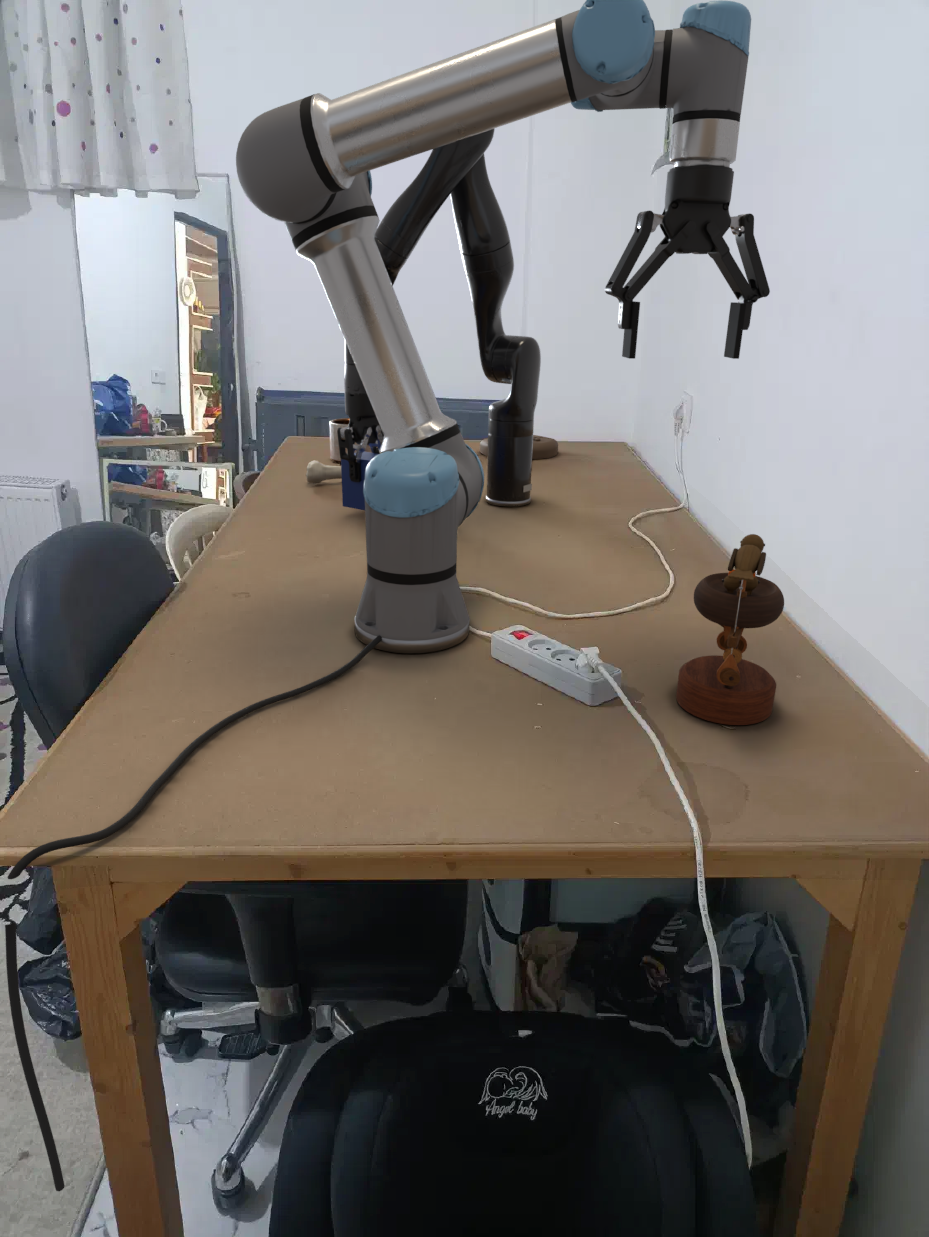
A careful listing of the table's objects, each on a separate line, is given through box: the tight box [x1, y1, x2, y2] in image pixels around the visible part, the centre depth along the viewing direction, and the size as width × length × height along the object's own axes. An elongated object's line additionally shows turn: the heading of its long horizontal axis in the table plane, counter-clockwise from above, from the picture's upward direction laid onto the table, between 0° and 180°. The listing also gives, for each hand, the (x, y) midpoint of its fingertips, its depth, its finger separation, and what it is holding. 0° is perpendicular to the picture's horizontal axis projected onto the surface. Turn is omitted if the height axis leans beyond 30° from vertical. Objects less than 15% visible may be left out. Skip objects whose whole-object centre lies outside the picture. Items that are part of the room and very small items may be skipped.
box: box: [340, 452, 379, 512], centre depth 159 cm, size 23×6×10 cm, turn 58°
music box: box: [675, 533, 785, 726], centre depth 92 cm, size 15×11×20 cm
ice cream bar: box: [479, 434, 559, 460], centre depth 219 cm, size 21×28×4 cm
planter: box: [328, 417, 372, 464], centre depth 212 cm, size 11×11×10 cm
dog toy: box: [305, 459, 342, 484], centre depth 190 cm, size 20×6×5 cm, turn 99°
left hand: (680, 358), depth 106 cm, fingers open, 13 cm apart
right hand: (367, 478), depth 163 cm, fingers closed on box, 6 cm apart
